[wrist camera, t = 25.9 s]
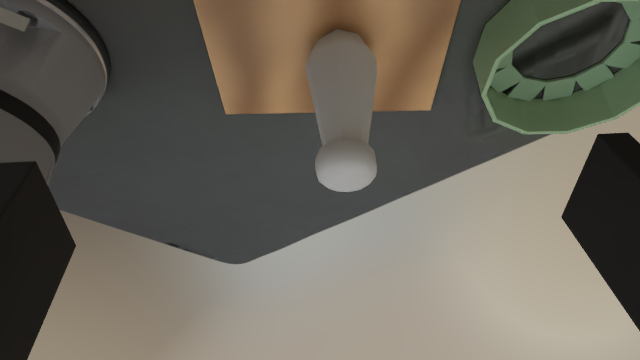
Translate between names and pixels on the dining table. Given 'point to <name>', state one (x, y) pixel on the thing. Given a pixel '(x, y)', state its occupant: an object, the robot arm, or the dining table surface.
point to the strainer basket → (558, 97)
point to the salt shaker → (343, 109)
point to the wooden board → (301, 36)
